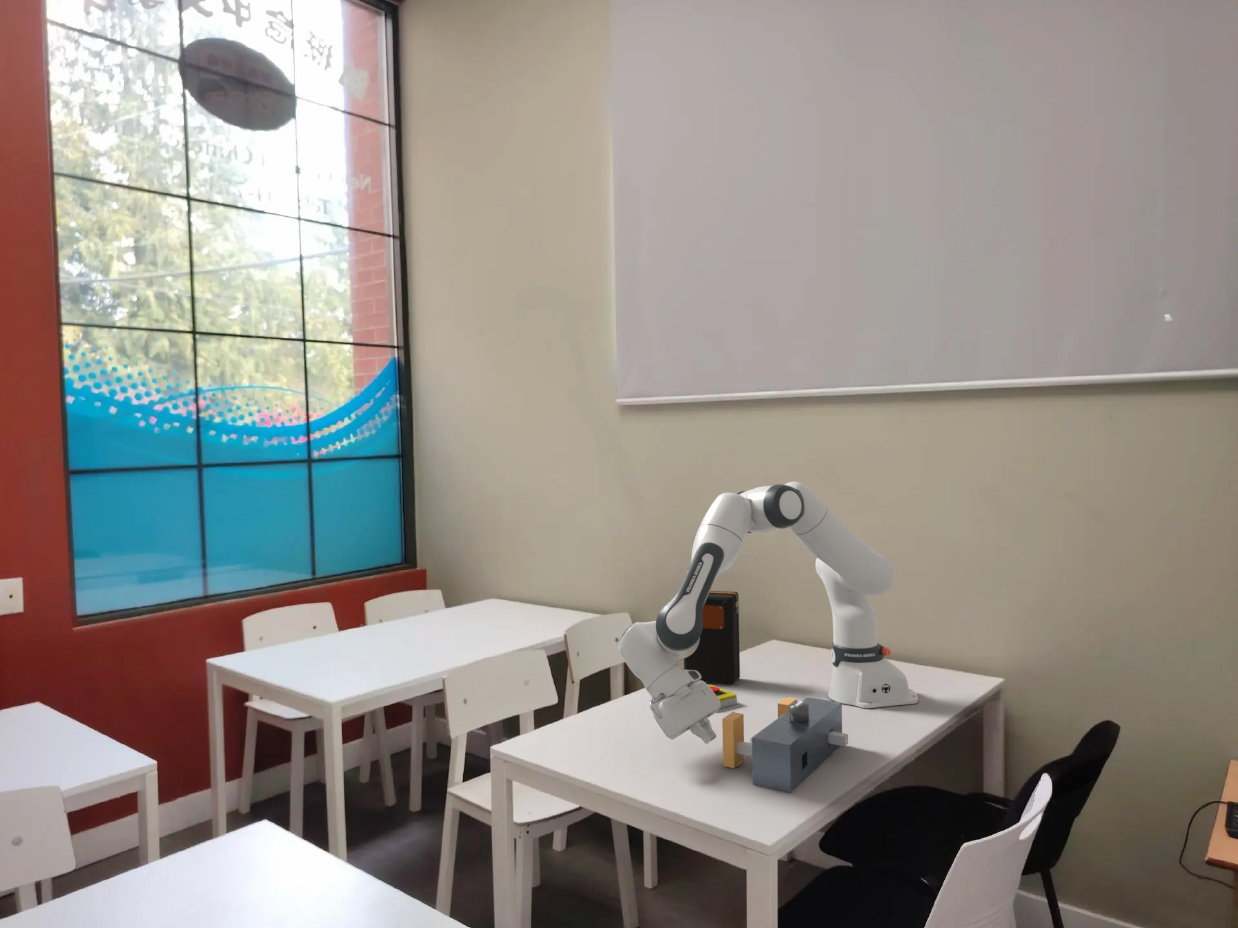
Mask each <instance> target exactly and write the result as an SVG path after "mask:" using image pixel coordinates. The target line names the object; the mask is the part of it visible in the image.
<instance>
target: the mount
mask: <svg viewBox="0 0 1238 928" xmlns="http://www.w3.org/2000/svg"><path fill="white" fill-rule="evenodd" d="M801 701H803V703H806V704H808V705H809V721H807V722H794V721H791V720H790V710H788V711H787V712H786V713H784V714H783V715H782V716H780V717H779V718H778V717H777V718H776V719H775V720H773V721H772V722H771V723H769V724H768V725H767V726H765V727H764V728H763V729H761V730H759V731H758V732H756V733H755V734H754V735H753V736H752V737H750V738H749V743H750V744H751V745H752V756H751V757H752V759H751V761H752V785H753V786H756V787H762V788H765V789H771V790H775V791H779V792H783V793H787V794H792V793H793V792H794V791H795V790H796V789H797V788H798V787H799V786H800V785H801V784H803V782H804V781H806V779H808V778H809V777H810V776H811V775H812V774H813V773H814V772H815V771H816V770H817V769H818V768H819V767H821V765H822V764H823V763H824V762H825V761H827V760H828V759H829V758H830V757H831V756H832V755H833V754H834V753H835V752H836V751H837V750H839V748H841V747H842V746H841V745H835V744H830V743H828V732H829V731H833V732H839V733H843V710H842V708H843V703H842V702H836V701H834V700H828V699H821V698H816V697H805V698H803V699H802V700H801Z"/></svg>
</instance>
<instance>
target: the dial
mask: <svg viewBox="0 0 1238 928" xmlns="http://www.w3.org/2000/svg"><path fill="white" fill-rule="evenodd" d="M789 708H790V720H791V721H794V722H807V721H809V705H808V704H806V703H803V701H802V700H800V701H797V702H794V703H790V705H789Z"/></svg>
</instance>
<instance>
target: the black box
mask: <svg viewBox="0 0 1238 928" xmlns="http://www.w3.org/2000/svg"><path fill="white" fill-rule="evenodd" d="M739 604H740V603H739V593H738V592H737V591H724V590H722V591H721V590H710V592H709V594H708V597H707V599H706V601H705V603H704V606H703V611H702V616H703V629H702V633H701V635H700V641H699V644H698V647H697V649H696V650H695V652H694V653H693V654H691V655H690V656H688V657H686V658H684V659H683V669H685V670H696V671H698V672H699V673H700V675H701V679H700V680H702V681H704V682H705V683H717V684H729V685H733V684H735V683H736V681H738V680H739V679H740V678H741V662H740V659H741V658H740V655H741V653H740V610H739V608H740V607H739Z"/></svg>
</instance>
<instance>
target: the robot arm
mask: <svg viewBox="0 0 1238 928" xmlns="http://www.w3.org/2000/svg"><path fill="white" fill-rule="evenodd" d="M780 529H781V530H782V529H788V530H790V532H791V533H792V534H793V535H794V537H796V539H797V540H798V541H799V542H800V543H801V544H802V545H803V547H805V549H806V550H808V552H809V553H810V554H811V555H812V556H813V557H815V558H816V560H815V563H814V564H815V566H814V567H815V571H816V574H817V575H818V577H819V578H820V579H821V581H822V583H823V585H824V587H825V591H826V593H827V597H828V601H829V604H830V608H831V614H832V615H831V616H832V635H833V637H832V639H833V641H832V642H831V649H830V651H831V652H830V653H831V654H830V655H831V664H832V671H831V680H830V685H829V689H828V692H827V697H828V698H829V699H830V700H831V701H835V702H842V704H845V705H852V706H856V707H859V708H862V709H872V708H873V709H874V708H883V707H894V706H900V705H903V706H904V705H912V704H913V705H914V704H917V703H918V702H919V697H918V694H917V693H916V692H915V691H914V690H913V689H911V688H910V687H909V682H908V679H907V676H906V675H905V673H904V672H903V671H902V670H901V669H900V668H899V667H897V666H896V665H895V664H893V663H892V662H890V661H889V660H888V659H886V658H885V657H890V656H891V653H892V650H891V649H890V648H889V647H887V646H883V645H882V644H881V643H878V618H877V616H878V615H877V613H876V611H875V608H873V606H872V605H871V604H870V602H869V599H868V596H869V595H870V596H873V595H883V594H886V593H887V592H889V591H890V590H891V589H892V588H893V586H894V584H895V581H896V575H897V573H896V569H895V565H894V563H893V562H892V560H890V559H889V558H887V557H885V556H884V555H882V554H881V553H879V552H878V551H876V550H875V549H874V548H873V547H872V546H870V545H869V544H868V543H867V542H865V541H864V540H863V539H862V538H861V537H859V536H858V535H857V534H856V533H854V532H852V531H851V529H849V528H848V527H847V526H846V525H845V524H844V523H843V522H842V521H841V520H840V519H839V518H838V517H837V515H836V514H835V513H834V512H833V511H832V510H831V508H830V507H828V505H827V504H826V503H825V502H824V501H823V500H822V499H821V498H820V496H819V495H817V493H815V491H813V490H811V488H809V487H807V485H805V484H804V483H802V482H799V481H795V480H794V481H789V482H787V483H785V484H781V483H779V484H778V483H777V484H774V485H762V486H757V487H755V488H752V489H748V490H742V491H739V492H722V493H720V494H719V495H718V496H717V497H715V499H714V501H713V502H712V503H711V505H710V507H709V508H708V510H707V511H706V513H705V515H704V516H703V518H702V520H701V523H700V525H699V527H698V529H697V532H696V534H695V538H694V541H693V543H692V544H693V545H692V549H691V559H690V560H691V561H690V565H689V567H688V569H687V572H686V574H685V575H684V578H683V581H682V582H681V585H680V587H679V589H678V591H677V593H676V595H675V596H674V597H673V598H671V600H670V601H669V602H668V603H667V604H665V605H664V606H663V607H662V608H661V610H659V612H658V615H657V616H656V620H653V621H648V622H642V621H641V622H640V621H636V622H634V623H632V624H631V625H629V627H628V628H626V630H625V631H624V632H623V633H622V635H621V637H620V638H619V640H618V641H619V642H618V646H617V647H618V652H619V654H620V656H621V658H622V660H624V663H625V664H626V665H627V667H628V668H629V670H630V671H631V672H632V673H633V675H634V676H635V677H637V679H639V680H640V681H641V682H642V684H643V685H644V688H645V690H646V691H647V693H648V694H649V695H650V697H651V698H650V700H649V708H650V710H651V711H652V712H651V713H652V714H653V718H654V720H655V721H656V723H657V725H658V727H659V728H660V729H661V731H662V732H663V734H664V735H665V737H667V738H668V739H670V740H672V741H673V740H674V739H676V738H677V737H679V736H681V735H682V734H684V733H686V732H687V731H690V732H691V733H692V734H693V735H694V736H696V737H697V738H700V739H701V741H702V742H703V743H704V744H705V745H707V744H709V743H710V742H712V741H713V740H714V739H716V738H717V733H716V732H715V731H714V730H713V728H712V723H711V722H710V719H709V718H710V717H711V716H712V715H714V714H715V712H716V711H717V710H718V709H719V708H720V707H721V703H720V700H719V699H718V697H717V696H716V695H715V693H714V692H713V691H712V689H711V688H710V687H709V686H708V685H709V684H708V683H707V682H704V681H702V680H700V679H701V675H700V673H699V672H698V671H696V670H685V669H684V668H682V669H681V667H680V666H679V665H678V664H677V663H679V662H680V661H682V660H684V658H686V657H688V656H690V655H691V654H693V653H694V652H695V650H696V649H697V647H698V644H699V641H700V635H701V633H702V629H703V616H702V611H703V606H704V603H705V601H706V599H707V597H708V594H709V592H710V591H712V590H711V589H712V587H713V585H714V583H715V581H716V579H717V577H718V576H719V574H722V573H725V572H727V571H729V570H730V569H731V567H732V566H733V564H735V561H736V559H737V558H738V556H739V554H740V553H741V550H742V547H743V545H744V543H745V541H746V537H747V534H751V533H767V532H771V531H774V530H775V531H776V530H780Z"/></svg>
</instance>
